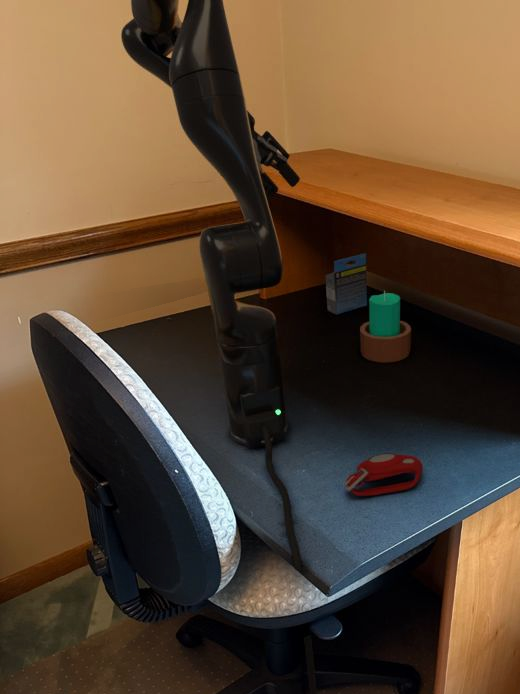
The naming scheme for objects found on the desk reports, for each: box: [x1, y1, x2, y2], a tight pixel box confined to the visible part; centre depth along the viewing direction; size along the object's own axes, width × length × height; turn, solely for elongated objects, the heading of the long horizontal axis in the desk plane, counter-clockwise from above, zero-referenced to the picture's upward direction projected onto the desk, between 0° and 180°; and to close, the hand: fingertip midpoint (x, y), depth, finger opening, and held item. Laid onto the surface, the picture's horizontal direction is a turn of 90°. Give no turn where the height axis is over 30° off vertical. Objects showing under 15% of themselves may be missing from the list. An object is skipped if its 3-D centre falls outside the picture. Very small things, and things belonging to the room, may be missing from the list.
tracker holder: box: [343, 453, 424, 497], centre depth 97 cm, size 12×4×10 cm
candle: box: [368, 290, 401, 337], centre depth 131 cm, size 6×6×12 cm
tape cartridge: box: [325, 252, 368, 316], centre depth 151 cm, size 9×4×12 cm, turn 126°
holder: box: [359, 320, 412, 363], centre depth 133 cm, size 10×10×5 cm
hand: (286, 188), depth 120 cm, fingers open, 8 cm apart
